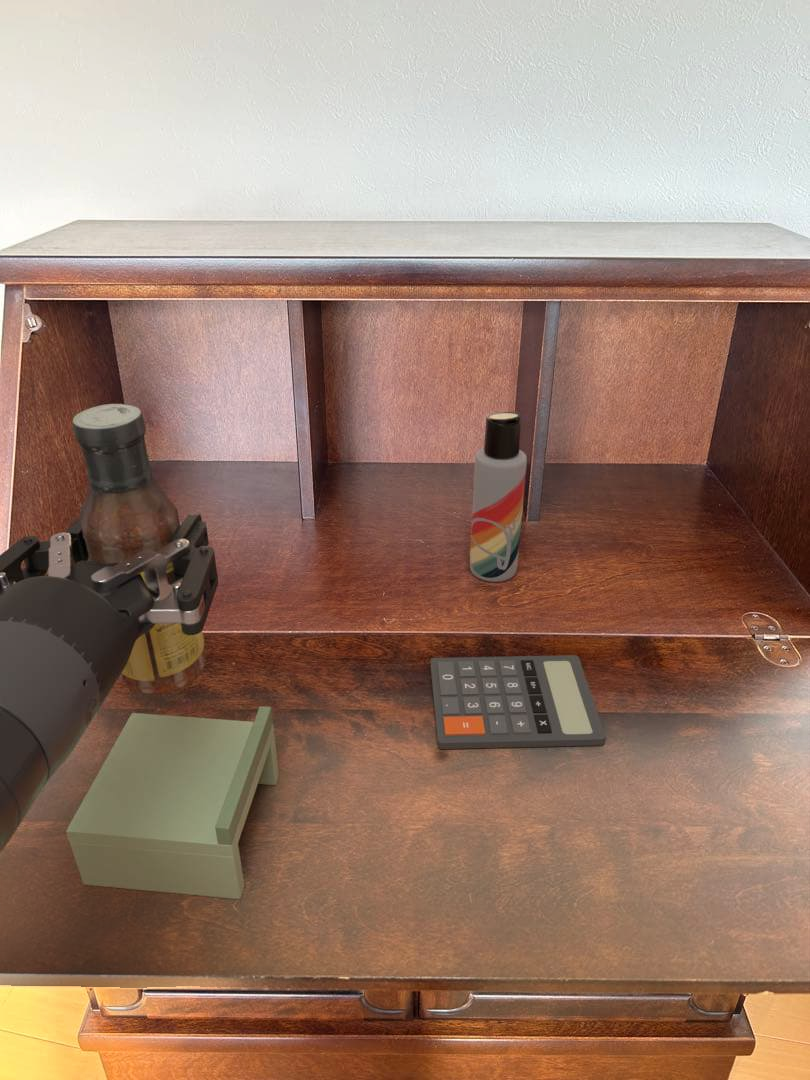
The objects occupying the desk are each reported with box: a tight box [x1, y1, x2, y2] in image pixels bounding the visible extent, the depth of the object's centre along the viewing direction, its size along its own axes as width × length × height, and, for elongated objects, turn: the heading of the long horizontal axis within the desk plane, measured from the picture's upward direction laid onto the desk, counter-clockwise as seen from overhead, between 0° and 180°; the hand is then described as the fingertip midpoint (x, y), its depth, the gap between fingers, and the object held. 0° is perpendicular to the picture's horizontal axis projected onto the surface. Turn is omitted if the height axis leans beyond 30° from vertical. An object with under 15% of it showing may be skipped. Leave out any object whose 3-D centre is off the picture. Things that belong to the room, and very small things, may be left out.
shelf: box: [65, 706, 280, 900], centre depth 62 cm, size 12×12×8 cm
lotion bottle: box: [469, 411, 528, 583], centre depth 91 cm, size 6×6×20 cm
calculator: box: [429, 654, 607, 750], centre depth 76 cm, size 12×1×15 cm
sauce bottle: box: [72, 403, 207, 695], centre depth 53 cm, size 6×6×20 cm
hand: (148, 523), depth 55 cm, fingers closed on sauce bottle, 6 cm apart
